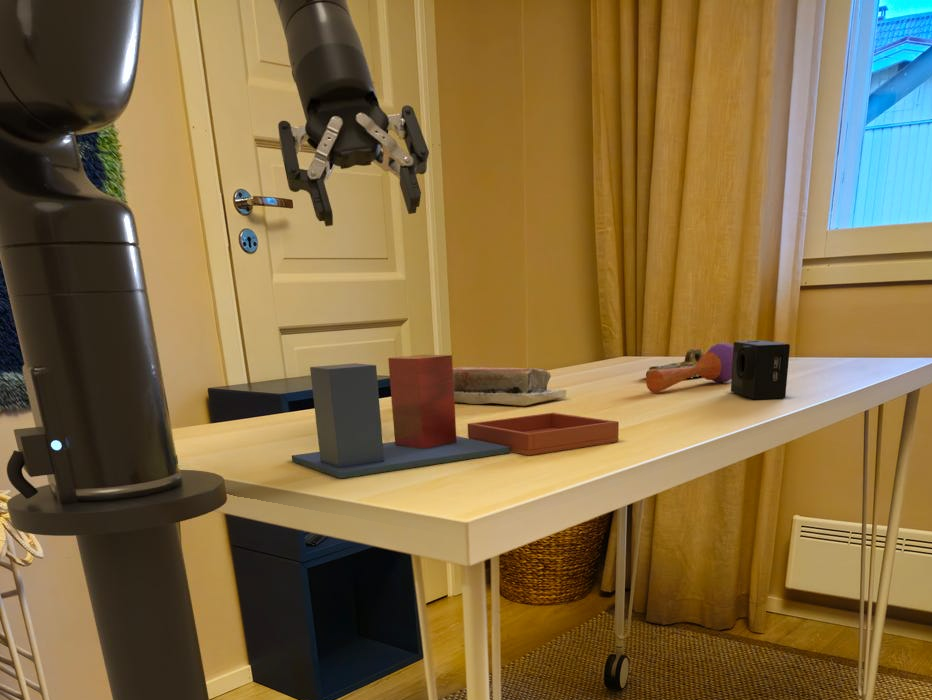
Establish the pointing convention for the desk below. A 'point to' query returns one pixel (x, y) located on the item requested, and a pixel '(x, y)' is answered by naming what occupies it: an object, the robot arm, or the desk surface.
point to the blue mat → (407, 457)
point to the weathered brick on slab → (503, 386)
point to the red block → (423, 400)
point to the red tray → (545, 432)
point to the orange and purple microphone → (696, 369)
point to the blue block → (347, 414)
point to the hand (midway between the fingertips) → (372, 214)
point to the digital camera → (760, 369)
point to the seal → (690, 361)
